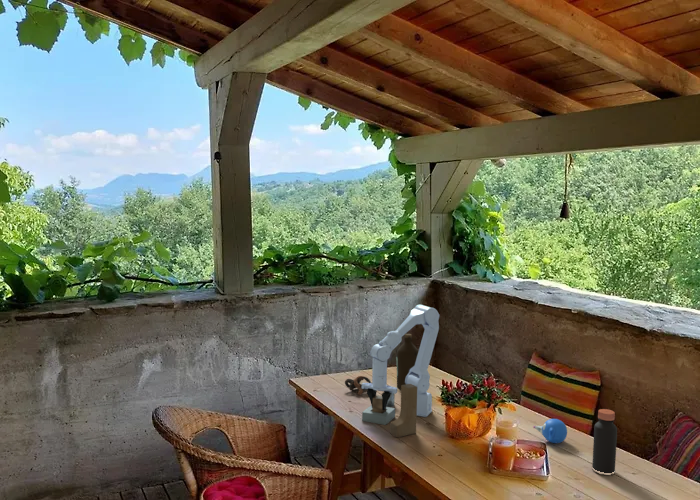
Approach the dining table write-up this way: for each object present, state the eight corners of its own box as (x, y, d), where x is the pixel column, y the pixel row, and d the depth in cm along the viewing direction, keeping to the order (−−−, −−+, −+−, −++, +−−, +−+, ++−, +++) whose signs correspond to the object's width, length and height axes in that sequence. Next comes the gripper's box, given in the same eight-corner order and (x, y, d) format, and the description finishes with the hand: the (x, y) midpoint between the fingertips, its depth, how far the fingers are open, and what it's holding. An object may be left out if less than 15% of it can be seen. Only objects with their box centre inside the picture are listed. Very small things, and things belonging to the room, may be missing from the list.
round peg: (395, 404, 257) (396, 388, 256) (392, 407, 253) (392, 391, 253) (387, 403, 259) (387, 387, 258) (383, 405, 255) (383, 389, 254)
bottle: (595, 465, 200) (598, 406, 199) (617, 471, 196) (620, 411, 194) (589, 471, 195) (592, 411, 193) (611, 478, 191) (614, 416, 189)
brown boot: (396, 438, 221) (397, 389, 219) (389, 433, 224) (390, 386, 223) (416, 433, 225) (417, 386, 224) (409, 429, 229) (410, 383, 227)
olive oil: (420, 385, 284) (422, 333, 282) (415, 391, 274) (416, 337, 272) (399, 382, 288) (400, 331, 286) (392, 389, 278) (394, 335, 276)
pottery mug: (368, 389, 279) (373, 376, 275) (367, 404, 271) (372, 391, 267) (343, 382, 278) (347, 369, 274) (341, 397, 270) (346, 384, 266)
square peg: (385, 413, 241) (385, 396, 240) (381, 416, 237) (382, 399, 236) (376, 412, 242) (376, 395, 242) (372, 415, 239) (372, 398, 238)
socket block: (394, 416, 242) (395, 408, 242) (385, 425, 233) (385, 416, 233) (372, 412, 246) (372, 404, 246) (362, 420, 237) (362, 412, 237)
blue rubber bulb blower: (536, 432, 228) (536, 410, 227) (569, 438, 222) (570, 416, 222) (529, 443, 217) (530, 420, 217) (563, 450, 212) (564, 427, 211)
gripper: (358, 375, 238) (358, 408, 239) (393, 380, 232) (392, 414, 233) (365, 370, 244) (365, 403, 245) (399, 375, 238) (398, 409, 239)
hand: (378, 408), depth 239 cm, fingers closed on square peg, 4 cm apart
